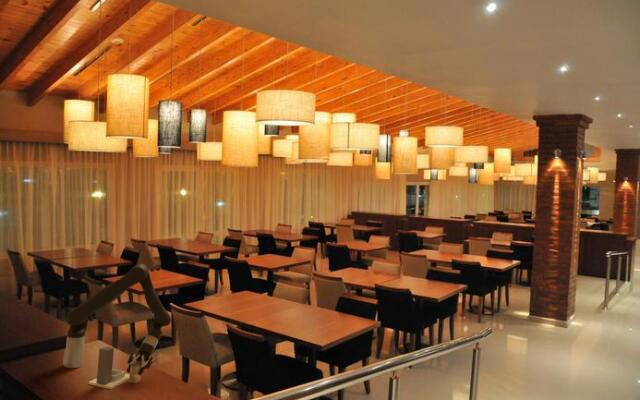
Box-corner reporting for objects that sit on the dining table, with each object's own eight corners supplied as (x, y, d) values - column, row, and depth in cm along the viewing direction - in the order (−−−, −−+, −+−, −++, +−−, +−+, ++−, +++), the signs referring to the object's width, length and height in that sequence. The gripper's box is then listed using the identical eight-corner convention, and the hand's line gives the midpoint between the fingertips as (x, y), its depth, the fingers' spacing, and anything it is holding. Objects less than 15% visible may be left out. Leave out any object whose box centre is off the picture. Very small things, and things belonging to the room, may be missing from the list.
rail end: (129, 381, 262) (130, 363, 262) (133, 379, 266) (135, 361, 266) (135, 383, 261) (137, 365, 261) (140, 380, 265) (141, 362, 264)
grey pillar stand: (88, 384, 254) (91, 347, 254) (111, 372, 272) (114, 338, 272) (111, 389, 251) (114, 352, 250) (133, 377, 268) (136, 343, 268)
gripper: (135, 340, 272) (119, 367, 261) (157, 344, 268) (142, 372, 257) (140, 346, 277) (124, 374, 266) (162, 351, 273) (147, 379, 262)
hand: (133, 373), depth 262 cm, fingers open, 6 cm apart
